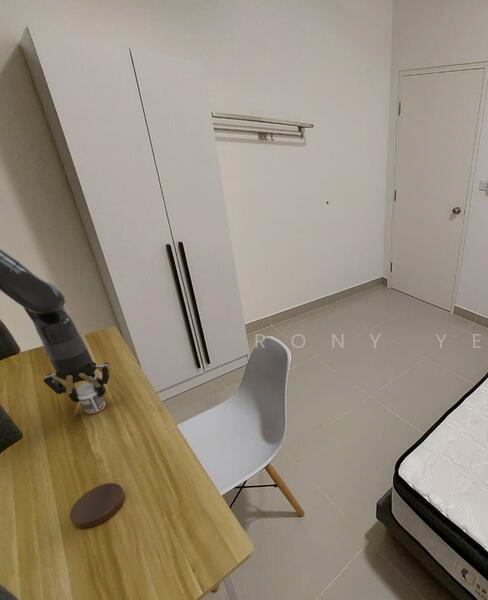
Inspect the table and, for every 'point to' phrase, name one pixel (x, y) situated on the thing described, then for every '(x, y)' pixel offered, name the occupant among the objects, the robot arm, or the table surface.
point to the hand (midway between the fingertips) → (90, 397)
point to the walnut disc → (97, 505)
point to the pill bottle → (90, 398)
